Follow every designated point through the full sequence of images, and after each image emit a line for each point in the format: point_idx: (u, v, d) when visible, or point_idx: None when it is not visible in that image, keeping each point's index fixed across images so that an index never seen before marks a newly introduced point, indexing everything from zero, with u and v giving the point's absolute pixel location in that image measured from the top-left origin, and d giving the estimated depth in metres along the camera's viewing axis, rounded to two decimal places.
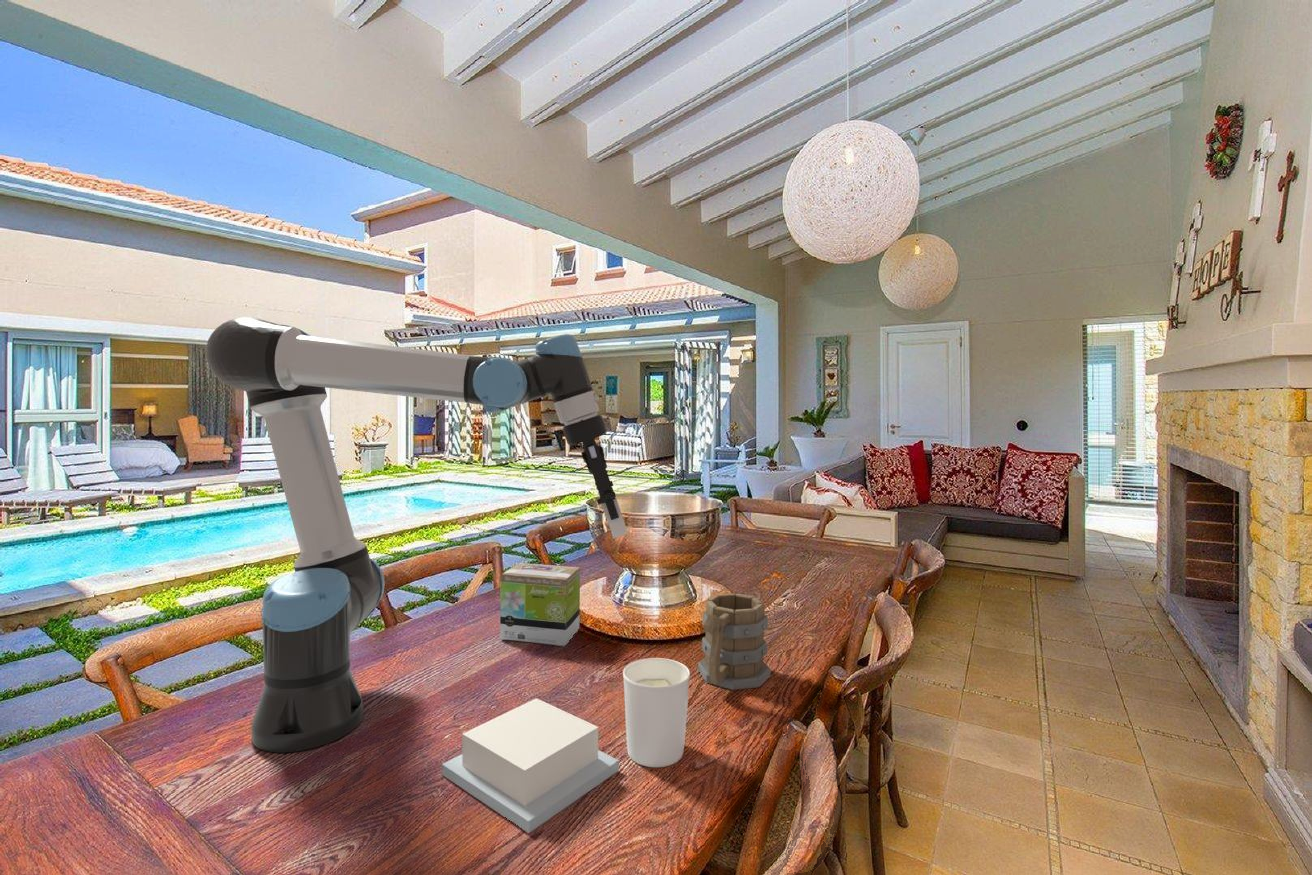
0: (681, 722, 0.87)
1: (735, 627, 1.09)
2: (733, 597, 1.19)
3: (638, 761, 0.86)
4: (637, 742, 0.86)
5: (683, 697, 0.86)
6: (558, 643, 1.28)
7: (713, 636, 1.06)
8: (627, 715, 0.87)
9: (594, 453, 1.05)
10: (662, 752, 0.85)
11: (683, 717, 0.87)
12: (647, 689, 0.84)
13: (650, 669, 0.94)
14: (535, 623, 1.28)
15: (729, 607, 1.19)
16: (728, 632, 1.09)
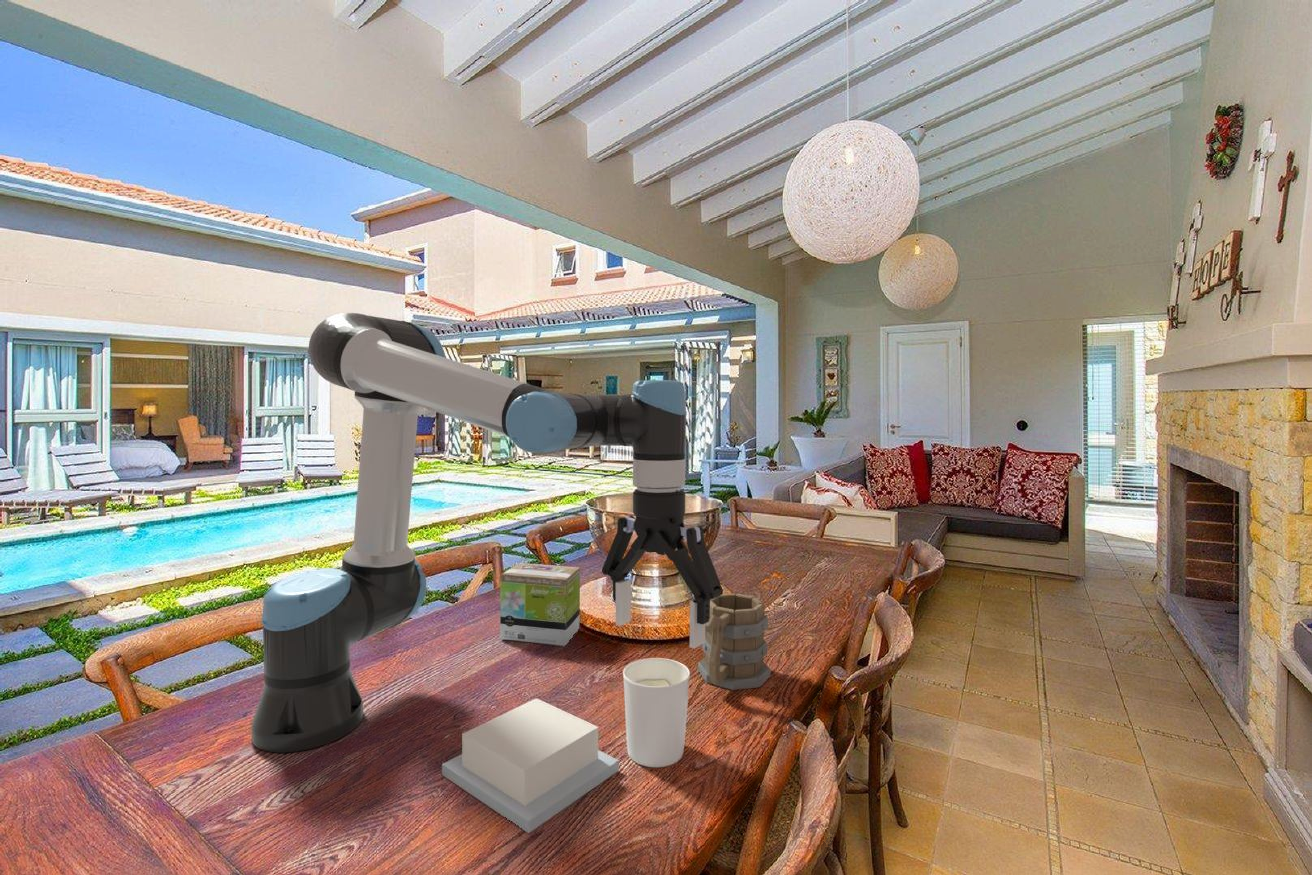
0: (681, 722, 0.87)
1: (735, 627, 1.09)
2: (733, 597, 1.19)
3: (638, 761, 0.86)
4: (637, 742, 0.86)
5: (683, 697, 0.86)
6: (558, 643, 1.28)
7: (713, 636, 1.06)
8: (627, 715, 0.87)
9: (699, 536, 0.84)
10: (662, 752, 0.85)
11: (683, 717, 0.87)
12: (647, 689, 0.84)
13: (650, 669, 0.94)
14: (535, 623, 1.28)
15: (729, 607, 1.19)
16: (729, 633, 1.09)
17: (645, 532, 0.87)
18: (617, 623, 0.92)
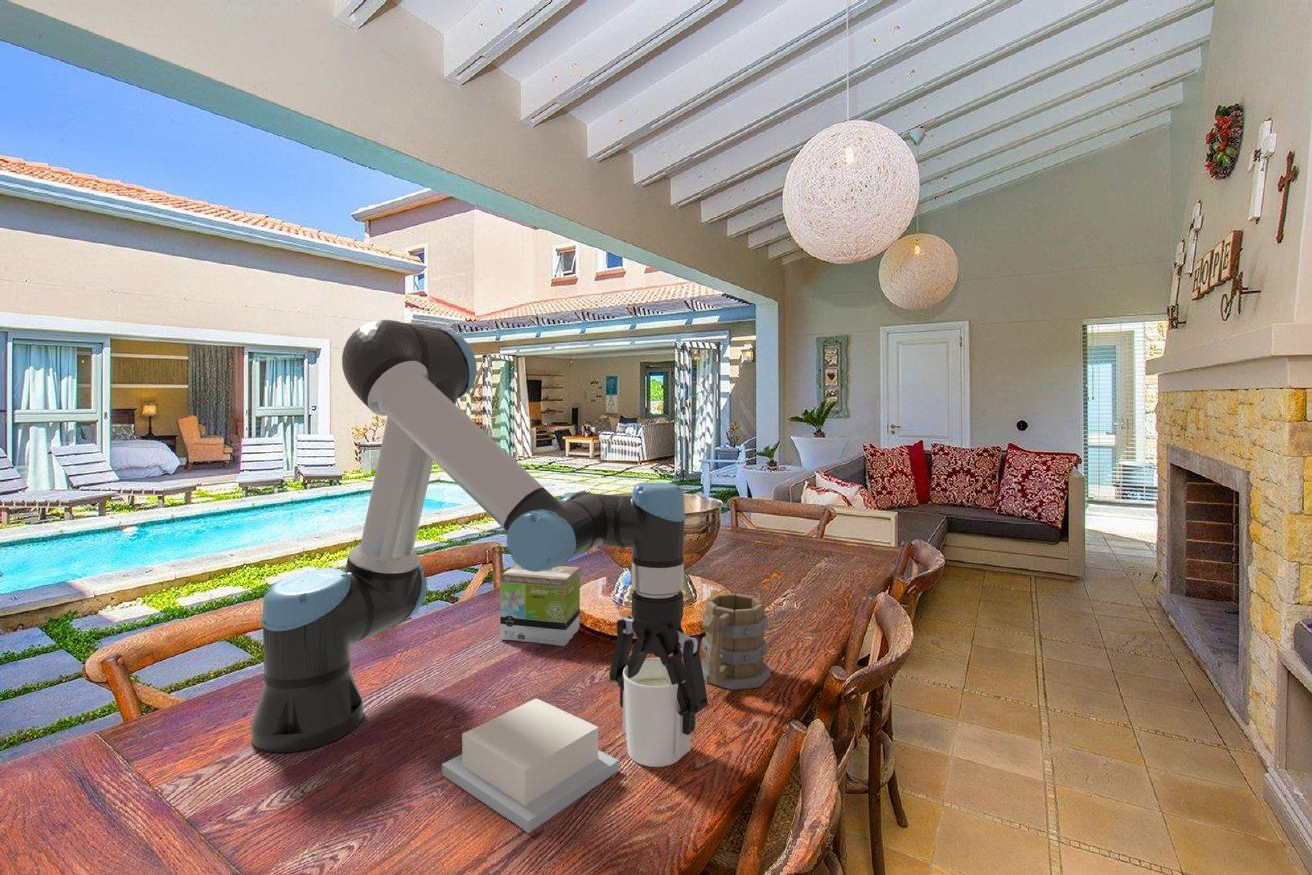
0: None
1: (735, 627, 1.09)
2: (733, 597, 1.19)
3: (638, 761, 0.86)
4: (637, 742, 0.86)
5: None
6: (558, 643, 1.28)
7: (713, 636, 1.06)
8: (627, 715, 0.87)
9: (696, 648, 0.85)
10: (662, 752, 0.85)
11: None
12: (647, 689, 0.84)
13: (650, 669, 0.94)
14: (535, 623, 1.28)
15: (729, 607, 1.19)
16: (729, 632, 1.09)
17: (643, 634, 0.88)
18: (624, 731, 0.91)
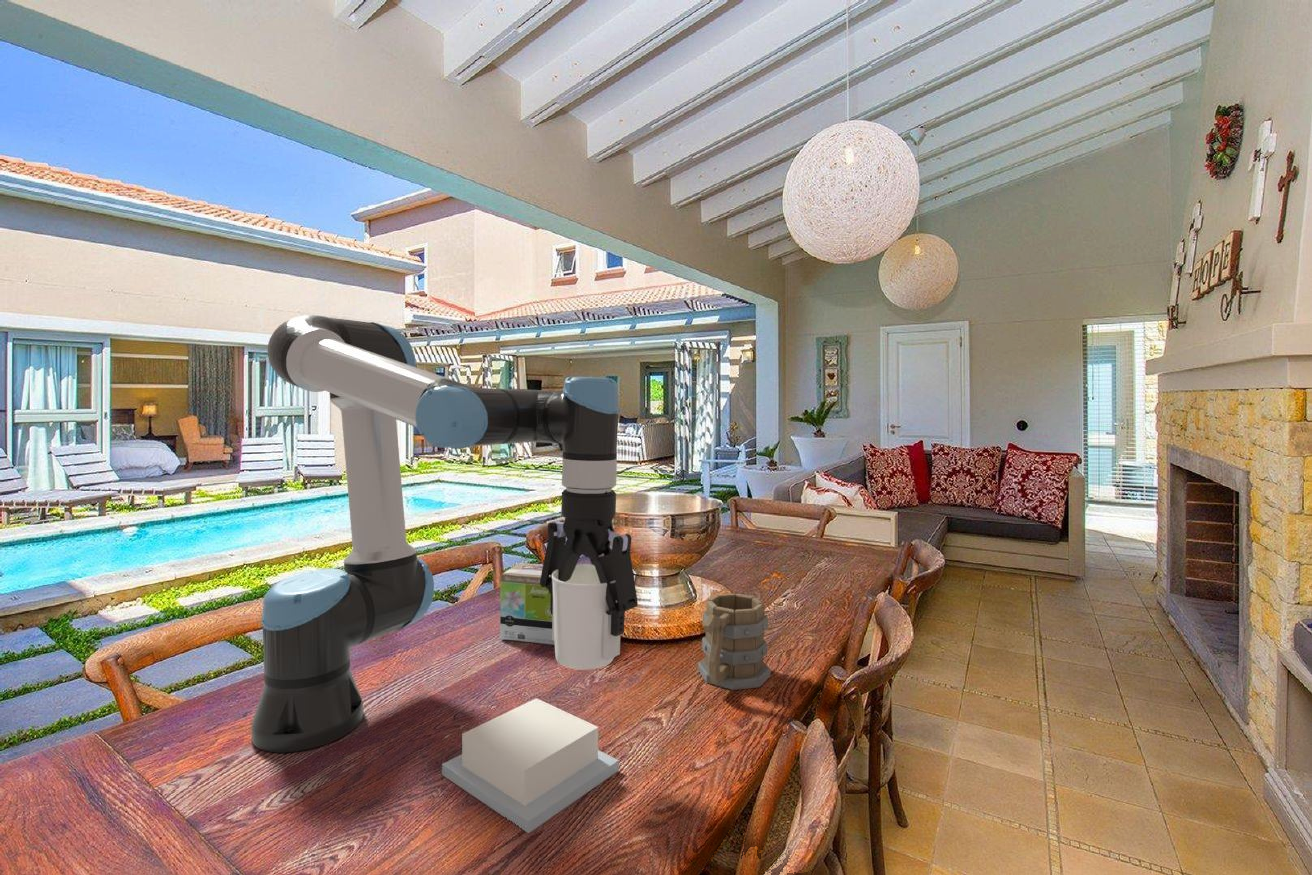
0: None
1: (735, 627, 1.09)
2: (733, 597, 1.19)
3: (565, 664, 0.83)
4: (564, 644, 0.82)
5: None
6: None
7: (713, 636, 1.06)
8: (555, 617, 0.84)
9: (626, 546, 0.81)
10: (589, 654, 0.82)
11: None
12: (574, 587, 0.81)
13: (583, 576, 0.90)
14: (535, 623, 1.28)
15: (729, 607, 1.19)
16: (729, 633, 1.09)
17: (573, 533, 0.84)
18: (553, 638, 0.88)
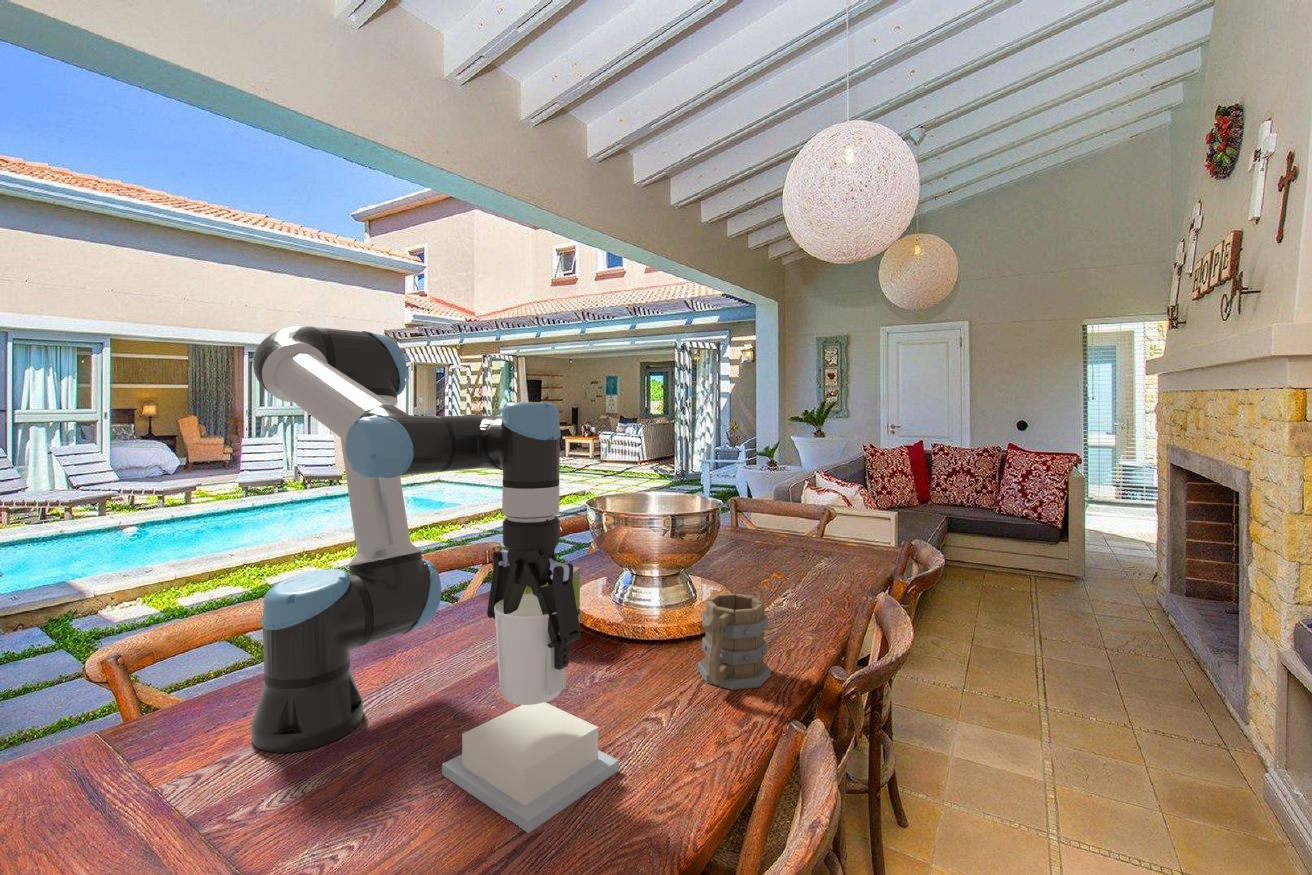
0: None
1: (735, 627, 1.09)
2: (733, 597, 1.19)
3: (508, 699, 0.80)
4: (506, 678, 0.80)
5: None
6: None
7: (713, 636, 1.06)
8: (497, 650, 0.81)
9: (567, 576, 0.78)
10: (532, 688, 0.79)
11: None
12: (514, 619, 0.78)
13: (531, 605, 0.87)
14: None
15: (729, 607, 1.19)
16: (728, 632, 1.09)
17: (515, 563, 0.81)
18: None
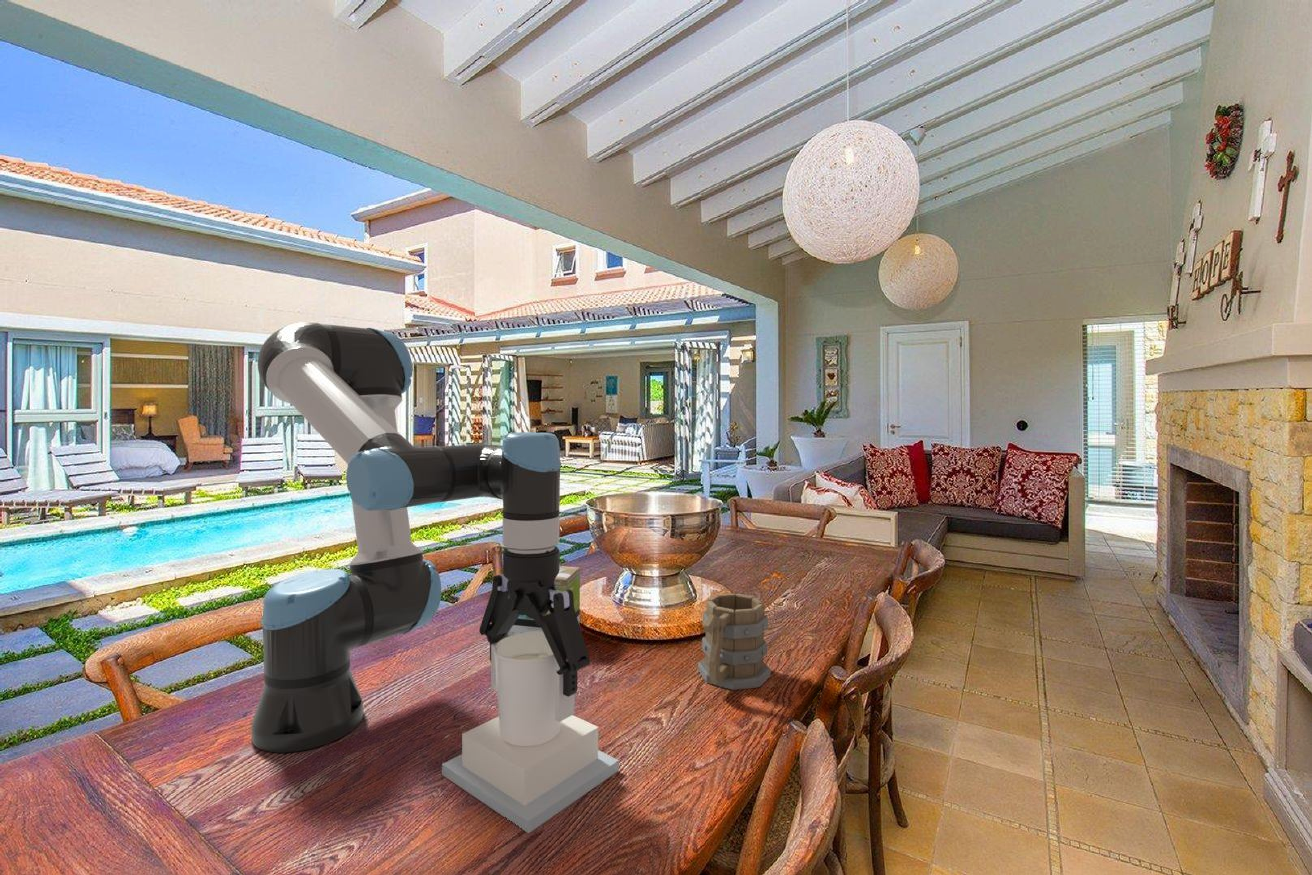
0: (554, 698, 0.81)
1: (735, 627, 1.09)
2: (733, 597, 1.19)
3: (507, 740, 0.80)
4: (506, 720, 0.80)
5: None
6: None
7: (713, 636, 1.06)
8: (497, 691, 0.81)
9: (568, 602, 0.78)
10: (531, 730, 0.79)
11: None
12: (513, 662, 0.78)
13: (531, 643, 0.88)
14: (535, 623, 1.28)
15: (729, 607, 1.19)
16: (729, 633, 1.09)
17: (515, 594, 0.82)
18: (492, 687, 0.86)
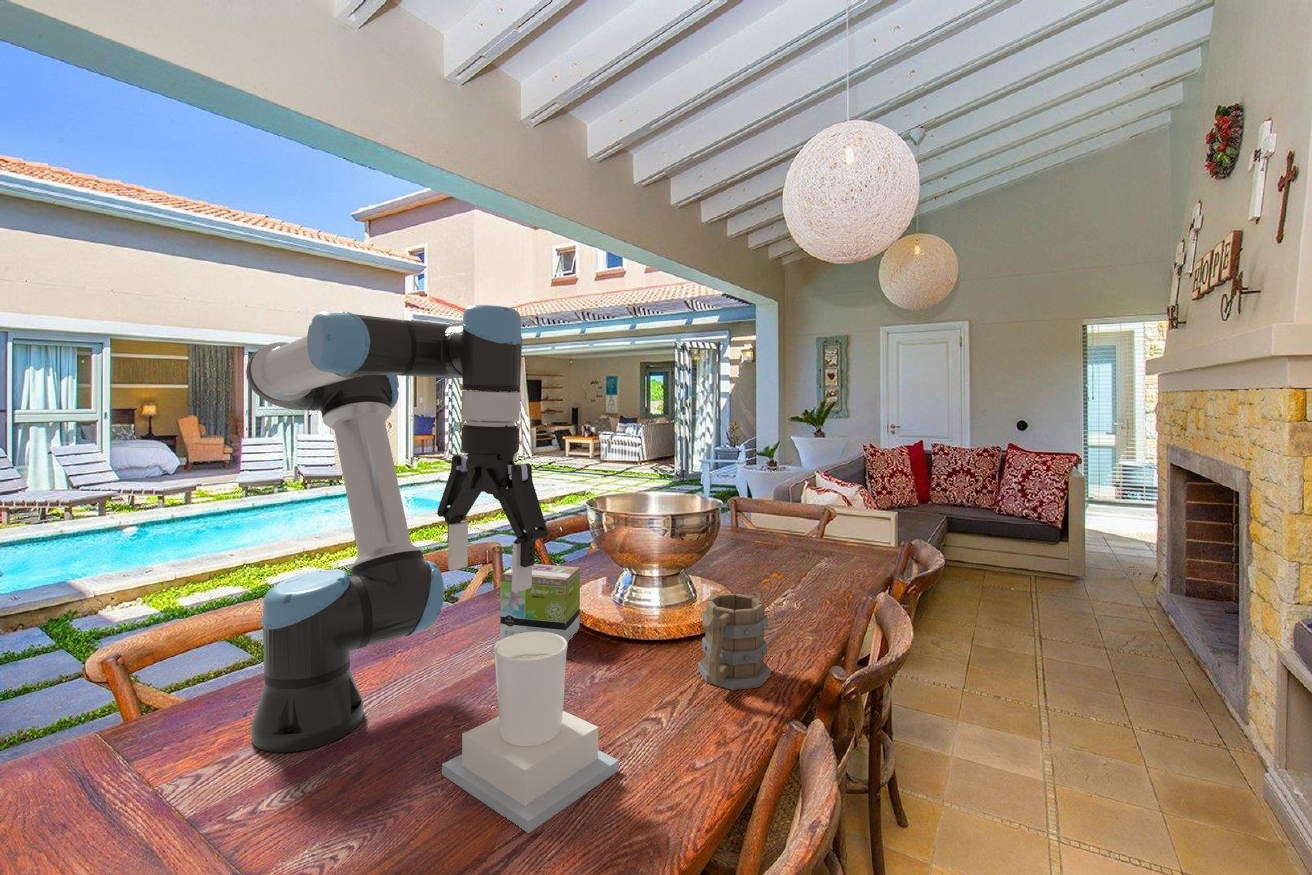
0: (554, 698, 0.81)
1: (735, 627, 1.09)
2: (733, 597, 1.19)
3: (507, 740, 0.80)
4: (506, 720, 0.80)
5: (556, 671, 0.80)
6: None
7: (713, 636, 1.06)
8: (497, 691, 0.81)
9: (526, 474, 0.78)
10: (531, 730, 0.79)
11: (557, 693, 0.81)
12: (514, 662, 0.78)
13: (531, 643, 0.88)
14: (535, 623, 1.28)
15: (729, 607, 1.19)
16: (729, 633, 1.09)
17: (474, 470, 0.81)
18: (449, 567, 0.86)
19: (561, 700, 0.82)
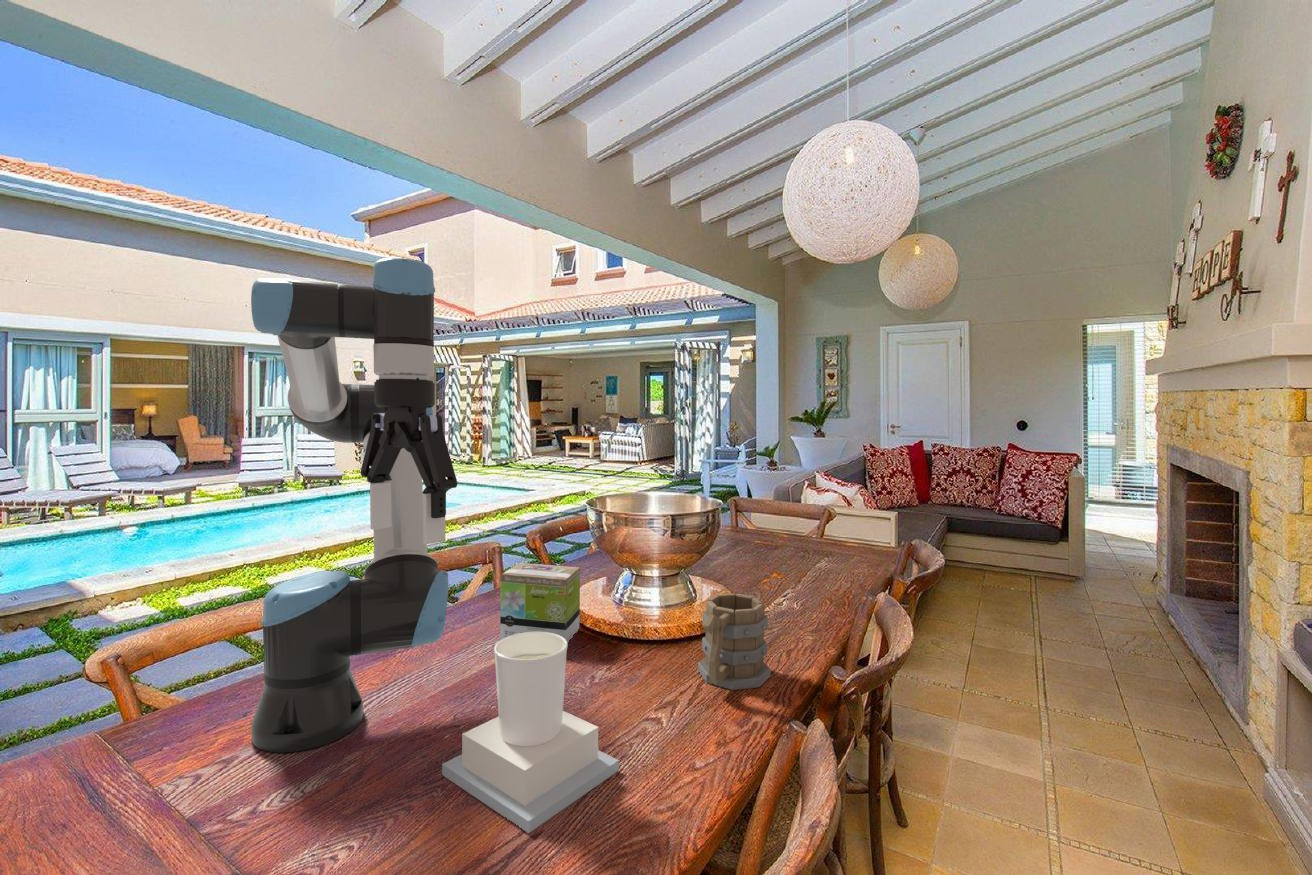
0: (554, 698, 0.81)
1: (735, 627, 1.09)
2: (733, 597, 1.19)
3: (507, 740, 0.80)
4: (506, 719, 0.80)
5: (556, 671, 0.80)
6: None
7: (713, 636, 1.06)
8: (497, 691, 0.81)
9: (435, 425, 0.78)
10: (531, 730, 0.79)
11: (557, 693, 0.81)
12: (514, 662, 0.78)
13: (531, 643, 0.88)
14: (535, 623, 1.28)
15: (729, 607, 1.19)
16: (729, 633, 1.09)
17: (388, 424, 0.81)
18: (371, 527, 0.86)
19: (561, 700, 0.82)
